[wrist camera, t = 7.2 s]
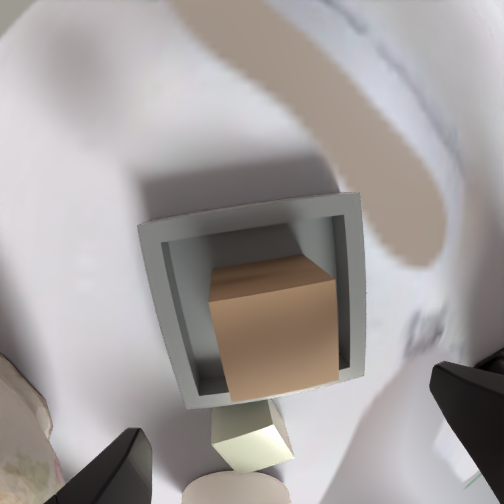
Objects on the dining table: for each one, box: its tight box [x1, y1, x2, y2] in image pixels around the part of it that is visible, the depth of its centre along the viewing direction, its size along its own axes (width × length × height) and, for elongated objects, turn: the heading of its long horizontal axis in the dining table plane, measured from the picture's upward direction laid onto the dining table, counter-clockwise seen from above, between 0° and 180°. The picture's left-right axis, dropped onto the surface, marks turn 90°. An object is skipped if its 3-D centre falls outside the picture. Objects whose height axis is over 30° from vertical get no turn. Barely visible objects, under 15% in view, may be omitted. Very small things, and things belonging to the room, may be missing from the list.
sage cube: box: [211, 399, 294, 475], centre depth 17 cm, size 4×4×4 cm
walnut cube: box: [208, 254, 339, 402], centre depth 14 cm, size 5×5×5 cm
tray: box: [137, 192, 366, 410], centre depth 16 cm, size 11×11×3 cm
